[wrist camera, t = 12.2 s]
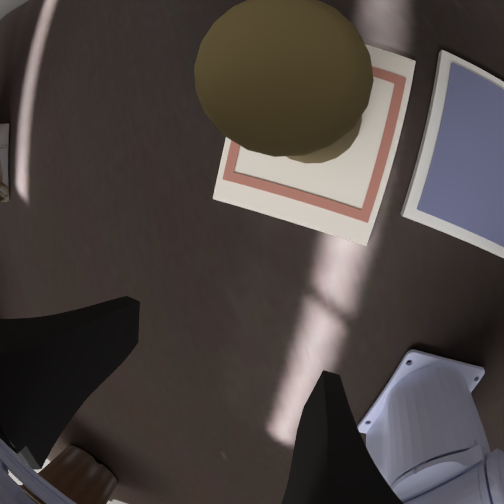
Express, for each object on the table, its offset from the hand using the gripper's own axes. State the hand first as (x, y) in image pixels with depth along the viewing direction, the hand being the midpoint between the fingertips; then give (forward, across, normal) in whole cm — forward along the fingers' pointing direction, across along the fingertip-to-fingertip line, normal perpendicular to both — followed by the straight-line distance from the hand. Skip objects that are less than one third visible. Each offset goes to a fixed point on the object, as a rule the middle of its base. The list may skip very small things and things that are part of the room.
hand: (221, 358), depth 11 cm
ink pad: (+10, -11, -11) cm, 19 cm away
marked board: (+10, 0, -9) cm, 14 cm away
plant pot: (+11, +22, +53) cm, 58 cm away
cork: (+10, 0, -10) cm, 14 cm away
